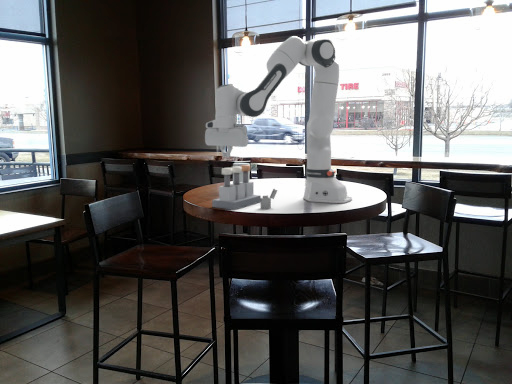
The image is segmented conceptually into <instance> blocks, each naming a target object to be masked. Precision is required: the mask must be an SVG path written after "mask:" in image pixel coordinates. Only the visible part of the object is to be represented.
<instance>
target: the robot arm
mask: <svg viewBox="0 0 512 384" xmlns="http://www.w3.org/2000/svg"><path fill="white" fill-rule="evenodd" d="M298 64H299V65H301V66H303V67H313V68H314V79H313V85H312V92H311V97H310V98H311V99H310V109H309V117H308V121H307V123H306V169H305V179H306V181H305V182H306V183H305V190H304V195H303V199H304V200H306V201H307V202H312V203H313V202H315V203H331V204H344V203H349V202H350V201H353V200H352V199H353V198H352V196H350V195H349V196H348V192H347V187H346V185H345V184H343V183H342V182H341V181H340V180H339V179H337V178H336V177H335V174H336V173H337V172H336V170H334V169H332V148H331V147H332V146H331V134H332V133H333V129H334V128H333V127H334V121H335V120H334V119H335V113H336V99H337V94H338V88H339V79H340V65H339V63H338V61H337V60H336V48H335V45H334V43H333V41H332V40H330V39H328V38H326V37H325V38H324V37H321V38H320V37H319V38H312V39H309V40H307V41H304V40H303V39H302V38H300V37H298V36H296V35H293V36H289V37H288V38H287V39H286V40H284V41H283V42H282V43H281V44H280V45H279V46H278V47H277V48H276V49H275V50H274V51H273V53H272V54H271V55H270V56H269V58H268V60H267V62H266V69H267V71H268V72H267V74H266V76H265V77H264V78H263V80H262V81H261V82H260V83H259V84H258V86H257V87H256V88H255V89H253V90H251V91H249V92H248V91H244V90H242V89H240V88H239V87H237V86H236V85H235V84H234V83H228V84H222V85H220V86H218V87H217V88H216V90H215V96H214V97H215V101H214V104H215V105H214V106H215V110H216V112H215V115H214V117H215V119H213V120H210V121H208V122H206V123H205V128H206V130H205V131H204V133H205V134H204V143H205V144H206V146H216V147H217V146H218V147H219V150H220V151H221V155H222V158H230V157H231V152H232V151H233V147H238V148H241V147H242V148H243V147H244V148H245V147H247V146H248V145H249V140H248V134H247V133H248V128H247V126H246V125H245V124H243V123H241V124H239V123H237V119H238V117H237V115H238V116H239V115H240V116H242V117H250V118H257V117H259V116H261V115H263V114H262V113H264V112H265V109H266V108H267V105H268V102H269V99H270V97H271V96H272V95H273V93H274V92H275V91H276V89H277V88H278V87H279V85H280V84H281V83H282V82H283V80H284V79H285V78H287V77H288V76H289V74H290V73H291V72H292V71H294V69H295V68H296V67H297V66H298ZM226 149H227V150H226Z"/></svg>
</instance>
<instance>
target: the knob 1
mask: <svg viewBox="0 0 512 384" xmlns="http://www.w3.org/2000/svg"><path fill="white" fill-rule="evenodd" d="M221 175H223V177H224V178H223V180H224V182H223V183H224V185H223V186H224V187H230V184H231V175H233V173H232V168H231V167H224V168H223V167H222V168H221Z"/></svg>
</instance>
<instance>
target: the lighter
mask: <svg viewBox="0 0 512 384" xmlns="http://www.w3.org/2000/svg"><path fill="white" fill-rule="evenodd" d="M277 193H278V189H275V188H273V189H272V191H271V194H270V196H269V195H266V194H265V195H263V196H262V197H261V202H260V209H271V208H272V204H271V203H272V202H271V201H272V200H274V199H275V197H276V195H277Z"/></svg>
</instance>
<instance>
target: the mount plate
mask: <svg viewBox="0 0 512 384" xmlns="http://www.w3.org/2000/svg"><path fill="white" fill-rule="evenodd" d="M239 184H240V185H234V184H233V183H230V187H224V185H221V186H218V195H219V197H218V198H215V199H212V201H211V202H212V204H211V205H212V208H217V209H218V208H219V209H227V210H233V211H235V210H239V209H241V208H244V207H245V208H246V207H249V206H252V205H256V204H259V203H261V198H262V197H261V195H260V194H258V195H257V194H254V182H253V181H249V182H248V183H243V182H239Z"/></svg>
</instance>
